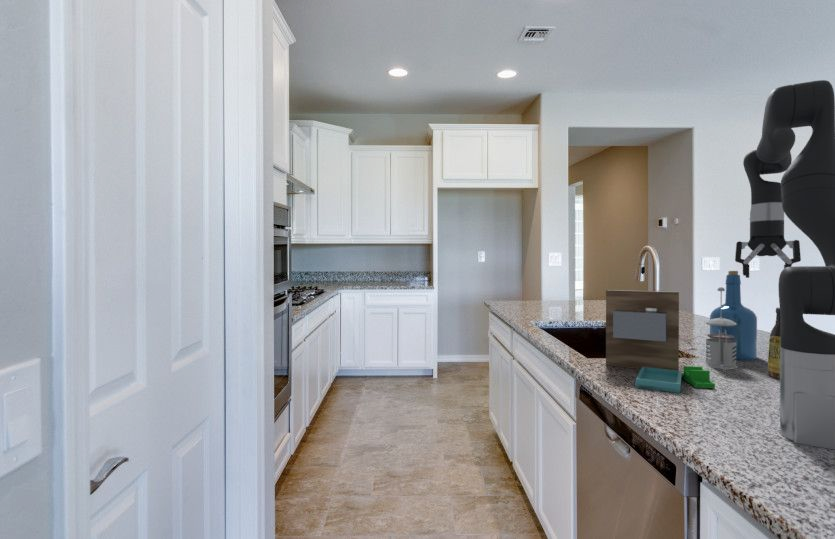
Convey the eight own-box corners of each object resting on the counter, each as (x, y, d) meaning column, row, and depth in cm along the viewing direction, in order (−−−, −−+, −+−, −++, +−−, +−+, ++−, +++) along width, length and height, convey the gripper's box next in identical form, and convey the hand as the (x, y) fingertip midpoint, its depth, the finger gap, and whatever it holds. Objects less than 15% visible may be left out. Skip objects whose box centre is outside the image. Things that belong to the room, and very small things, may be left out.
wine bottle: (762, 364, 140) (763, 271, 140) (713, 360, 146) (713, 271, 145) (751, 356, 153) (751, 270, 152) (706, 353, 158) (706, 270, 158)
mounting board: (678, 373, 129) (678, 292, 129) (605, 365, 140) (606, 290, 140) (678, 371, 131) (678, 291, 131) (607, 363, 142) (607, 290, 141)
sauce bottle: (763, 376, 125) (763, 307, 125) (775, 374, 128) (775, 306, 127) (790, 382, 119) (790, 309, 119) (802, 379, 122) (803, 308, 122)
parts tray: (680, 393, 109) (680, 384, 109) (635, 387, 115) (635, 378, 115) (681, 378, 123) (681, 371, 123) (642, 374, 128) (642, 366, 128)
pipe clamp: (715, 373, 113) (695, 373, 114) (715, 388, 113) (695, 387, 114) (696, 364, 124) (678, 363, 125) (697, 377, 124) (679, 376, 125)
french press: (738, 365, 139) (738, 286, 139) (742, 373, 129) (743, 288, 129) (701, 361, 144) (701, 286, 144) (703, 369, 134) (703, 287, 134)
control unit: (665, 341, 126) (665, 309, 126) (613, 337, 133) (613, 307, 133) (666, 338, 131) (667, 307, 131) (616, 334, 138) (616, 305, 138)
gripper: (736, 220, 123) (736, 277, 123) (802, 217, 116) (802, 278, 116) (734, 222, 130) (734, 277, 130) (797, 219, 122) (797, 277, 122)
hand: (766, 277), depth 123 cm, fingers open, 8 cm apart
